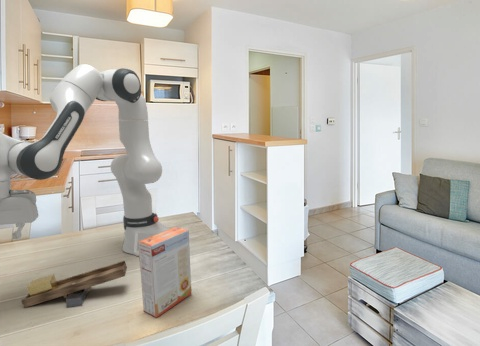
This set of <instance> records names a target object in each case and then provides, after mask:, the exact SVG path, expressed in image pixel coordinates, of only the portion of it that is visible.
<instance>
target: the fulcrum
mask: <svg viewBox="0 0 480 346" xmlns="http://www.w3.org/2000/svg"><path fill="white" fill-rule="evenodd" d="M88 293H89V291H87V289H83V290H79V291H76V292H73V293H70V294H69V295H68V297H67V298H65V304H66V308H74V307H80V306H83V305H84V302H85V300H86V298H87V297H86V296H87V295H88Z"/></svg>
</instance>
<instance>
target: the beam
mask: <svg viewBox="0 0 480 346" xmlns="http://www.w3.org/2000/svg"><path fill="white" fill-rule="evenodd" d="M127 268H128V266H127V264H126V260H123V261H119V262H116V263H113V264H109V265H106V266H102V267H99V268H95V269H93V270H89V271H86V272H83V273H82V272H81V273H79V274H76V275H72V276H70V277H66V278H63V279H59V280H56V281H57V284H58V287H57V289H54V290H51V291H48V292H45V293H41V294H38V295H35V296H32V297H30V295H29V293H28V294H27V295H26V296H25V297H24V298H23V299H21V304H22V306H23V308H24V309H25V308H28V307H31V306H34V305H38V304H42V303H45V302H48V301H51V300H54V299H57V298H60V297H63V298H64V299H65V300H66V299H67V297H68V295H69V294H70V293H73V292H76V291H79V290H83V289H87V291H88V292H90V291H91V289H92V287H94V286H98V285H101V284H105V283H107V282H110V281H114V280H117V279H121V278H124V277H126V273H127Z"/></svg>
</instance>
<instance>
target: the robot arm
mask: <svg viewBox="0 0 480 346" xmlns="http://www.w3.org/2000/svg"><path fill="white" fill-rule="evenodd" d="M54 87H55V88H54V89H53V90H52V92H51V94H50V97H49V103H50V106H51V107H52V109H53V111H54V112H55V113H56V116H55V118H54V120H53V121H52V123H51V124H50V126H49V127H48V129H47V130H46V132H44V135H43V136H42V137H41V138H40V139H38V140H36V141H34V142H29V141H24V140H20V139H17V138H14V137H11V136H10V135H7V134H5V133H3V132H2V131H0V226H3V225H4V226H5V225H15V227H16V228H17V229H16V231H13V232H12V235H11V236H12V239H13V240H17V239H18V240H19V239H21V238H22V230H23V229H24V227H25V224H28V223H29V224H31V223H34V221H36V220H37V219H38V218H39V211H38V207H37V194H36V192H34V191H32V190H29V189H12V182H11V181H12V180H11V176H12V175H20V176H24V177H25V176H26V177H28V178H30V179H33V180H37V181H38V180H39V181H41V180H48V179H50V178H52V177H53V176H55V175H56V174H57V173H58V172H59V170H60V168H61V166H62V163H63V159H64V154H65V152H66V149H67V148H68V146H69V144H70V142H71V141H72V140H73V138H74V136H75V135H76V133H77V132H78V130H79V128H80V126H81V124H82V123H83V120H84V118H85V115H86V113H87V112H88V110H89V109H90V108H91V106H92V105H93V103H94V102H95V100H98V101H99V102H115V103H116V106H117V109H118V131H119V135H118V136H119V140H120V143H121V144H122V145H123V146H124V149H125V152H126V153H125V154H121V155H117V156H115V157H114V158H113V159H112V161H111V163H110V171H111V173H112V175H113V176H114V177H115V179H116V181H117V183H118V186H119V189H120V193H121V197H122V200H123V201H122V202H123V204H122V205H123V214H124V215H123V218H122V222H123V224H122V225H123V229H124V236H123V244H122V248H121V249H122V251H123V252H124V253H126V254H131V255H134V256H136V257H139V244H138V242H139V241H141V240H144V239H146V238H149V237H151V236H154V235H157V234H159V233H162V232H164V231H167V230H169V229H170V228H169V227H168V226H166V225H165V224H163V223H162V222H161V221H159V219H160V218H159V216H158V214H157V213H154V212H153V200H152V199H153V197H152V194H151V193H150V191H149V190H148V189H147V187H146V185H148V184H149V185H150V184H154V183H157V182H158V181H159V180H160V178H161V177H162V174H163V166H162V164H161V162H160V161H159V160H158V159H157V157H156V155H155V153H154V151H153V148H152V145H151V141H150V131H149V130H150V129H149V115H148V107H147V102H146V98H145V96H144V95H143V94H142V83H141V79H140V78H139V75H138V74H137V73H136V72H135V71H134V70H133V69H132V70H131V69H129V68H123V67H121V68H111V69H107V70H103V71H99V70H98V69H97V68H96V67H94V66H92V65H90V64H87V63H86V64H85V63H81V64H78V65H77V66H75V67H74V68H73V69H72V70H70V71H69V72H68V73H66V75H65V76H63V77H62V79H61V80H60V81H59V82H58V83H57V85H56V86H54Z"/></svg>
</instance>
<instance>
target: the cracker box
mask: <svg viewBox="0 0 480 346" xmlns="http://www.w3.org/2000/svg"><path fill="white" fill-rule="evenodd" d="M138 244H139V256H138V257H139V268H140V279H141V280H140V282H141V283H140V284H141V293H142V305H143V307H142V308H143V312H145V313H147V314H149V315H150V316H153V317H155V318H156V319H157V318H159V316H160V317H161V315H163V314H165V313H166V312H167V311H169V310H171V308H173V307H174V306H176V305H178V304H179V303H180V302H182V301H183V300H184V299H186V298H188V297H189V296H191V295H192V274H191V253H190V252H191V249H190V231H189V229H185V228H182V227H178V226H174V227H172V228H169V230H167V231H164V232H162V233H159V234H157V235H154V236H151V237H149V238H146V239H144V240H141V241H139V242H138Z"/></svg>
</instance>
